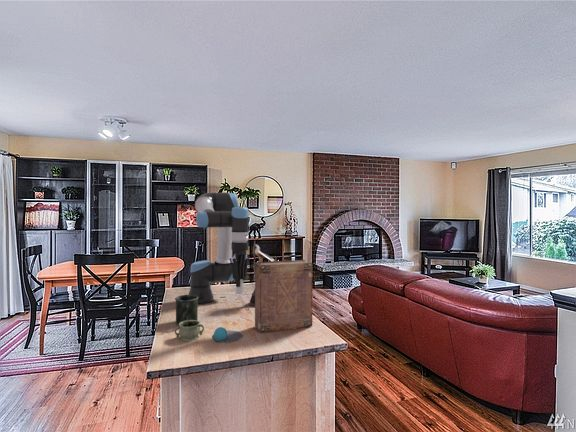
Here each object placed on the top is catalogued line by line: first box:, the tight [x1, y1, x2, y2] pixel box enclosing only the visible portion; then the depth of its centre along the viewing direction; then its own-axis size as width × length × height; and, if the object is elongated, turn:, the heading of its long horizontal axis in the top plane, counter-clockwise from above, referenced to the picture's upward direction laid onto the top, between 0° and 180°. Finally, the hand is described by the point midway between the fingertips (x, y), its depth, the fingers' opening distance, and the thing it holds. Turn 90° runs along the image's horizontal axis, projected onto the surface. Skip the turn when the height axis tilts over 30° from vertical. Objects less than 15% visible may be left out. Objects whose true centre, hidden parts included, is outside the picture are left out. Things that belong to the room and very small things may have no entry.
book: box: [254, 259, 314, 334], centre depth 158 cm, size 25×9×30 cm, turn 112°
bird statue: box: [249, 243, 276, 307], centre depth 197 cm, size 17×13×35 cm
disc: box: [211, 330, 244, 343], centre depth 145 cm, size 13×13×1 cm
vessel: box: [174, 320, 205, 342], centre depth 143 cm, size 12×9×6 cm
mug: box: [174, 294, 199, 326], centre depth 161 cm, size 11×15×12 cm
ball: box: [213, 326, 228, 342], centre depth 140 cm, size 6×6×6 cm
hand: (239, 293), depth 153 cm, fingers closed
